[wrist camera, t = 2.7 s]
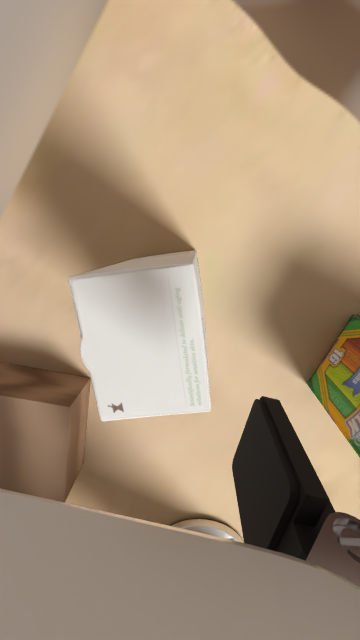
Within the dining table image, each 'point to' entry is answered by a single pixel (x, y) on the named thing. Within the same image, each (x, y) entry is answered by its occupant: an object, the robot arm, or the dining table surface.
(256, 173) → the dining table surface
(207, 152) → the dining table surface
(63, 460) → the walnut block
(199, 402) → the skincare box
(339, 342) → the chalk box
